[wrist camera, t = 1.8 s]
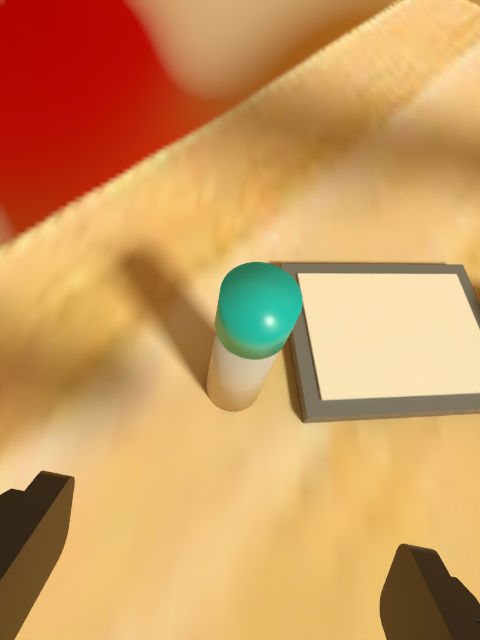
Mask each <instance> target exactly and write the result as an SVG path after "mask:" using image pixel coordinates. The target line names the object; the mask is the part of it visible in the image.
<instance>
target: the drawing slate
mask: <svg viewBox="0 0 480 640" xmlns="http://www.w3.org/2000/svg"><path fill="white" fill-rule="evenodd" d="M279 268H281V269H283V270H284V271H286V272H287V273H288V274H290V275H291V276H292V277H293V278H294V280H295V281H296V282H297V284H298V286H299V288H300V290H301V293H302V298H303V305H302V310H301V312H300V315H299V317H298V319H297V321H296V323H295V325H294V327H293V329H292V331H291V333H290V335H289V341H290V347H291V353H292V359H293V365H294V371H295V377H296V383H297V389H298V395H299V401H300V407H301V413H302V419H303V423H315V422H333V421H351V420H370V419H388V418H406V417H424V416H443V415H461V414H479V413H480V304H479V301H478V299H477V297H476V294H475V292H474V290H473V287H472V285H471V283H470V280H469V278H468V276H467V273H466V271H465V269H464V266H463V265H445V264H308V263H281V265H280V267H279Z"/></svg>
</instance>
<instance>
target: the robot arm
mask: <svg viewBox="0 0 480 640" xmlns="http://www.w3.org/2000/svg"><path fill="white" fill-rule="evenodd" d="M74 484H75V480H74V477H72V476H67V475H62V474H57V473H52V472H47V471H41V472H40V473H39V474H38V475H37V476H36V477H35V479H34V480H33V481H32V482H31V483H30V485H29V486H28V487H27V488H26V490H25V491H21V490H16V489H10V490H8V491H6V492H4V493H3V494H1V495H0V640H14V639H15V637H16V636H17V634H18V632H19V630H20V628H21V627H22V625H23V623H24V621H25V619H26V618H27V616H28V614H29V612H30V610H31V608H32V607H33V605H34V603H35V601H36V599H37V598H38V596H39V594H40V592H41V590H42V588H43V587H44V585H45V583H46V581H47V579H48V578H49V576H50V574H51V572H52V570H53V568H54V567H55V565H56V563H57V561H58V559H59V557H60V555H61V553H62V550H63V547H64V545H65V541H66V538H67V534H68V529H69V521H70V514H71V507H72V499H73V492H74ZM380 618H381V623H382V626H383V629H384V632H385V636H386V639H387V640H480V604H479V602H478V600H477V599H476V598H475V597H474V596H473V594H472V593H471V592H470V591H469V590H468V589H467V588H466V587H465V586H464V585H463V584H462V583H461V582H460V581H459V580H458V579H457V578H456V577H451V576H450V574H449V573H448V571H447V569H446V567H445V565H444V563H443V562H442V560H441V558H440V556H439V555H438V553H437V552H436V551H435V550H433V549H428V548H423V547H418V546H413V545H408V544H401V545H400V546H399V547H398V549H397V551H396V554H395V557H394V559H393V562H392V565H391V568H390V570H389V573H388V576H387V578H386V581H385V584H384V587H383V589H382V592H381V597H380Z"/></svg>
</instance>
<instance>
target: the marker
mask: <svg viewBox="0 0 480 640" xmlns="http://www.w3.org/2000/svg"><path fill="white" fill-rule="evenodd" d="M302 305H303V298H302V293H301V290H300V288H299V286H298V284H297V282H296V281H295V280H294V278H293V277H292V276H291V275H290V274H288V273H287V272H286V271H284V270H283V269H281V268H279V267H277V266H275V265H272V264H268V263H263V262H251V263H246V264H242V265H240V266H237V267H236V268H234V269H233V270H231V271H230V272H229V273H228V274H227V275H226V277H225V278H224V280H223V282H222V284H221V288H220V294H219V300H218V306H217V312H216V318H215V336H214V342H213V348H212V353H211V359H210V365H209V370H208V376H207V382H206V390H207V394H208V396H209V398H210V400H211V401H212V402H213V403H214V404H215V405H216V406H217V407H219V408H220V409H223V410H225V411H230V412H237V411H242V410H244V409H246V408H248V407H249V406H251V405H252V404H253V402H254V401H255V400H256V398H257V396H258V394H259V392H260V389H261V387H262V385H263V383H264V381H265V379H266V377H267V375H268V373H269V371H270V369H271V367H272V365H273V363H274V361H275V358H276V356H277V354H278V352H279V351H280V350H281V349H282V347H283V346H284V345H285V343H286V341H287V339H288V337H289V335H290V333H291V331H292V329H293V327H294V325H295V323H296V321H297V319H298V317H299V315H300V312H301V310H302Z"/></svg>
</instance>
